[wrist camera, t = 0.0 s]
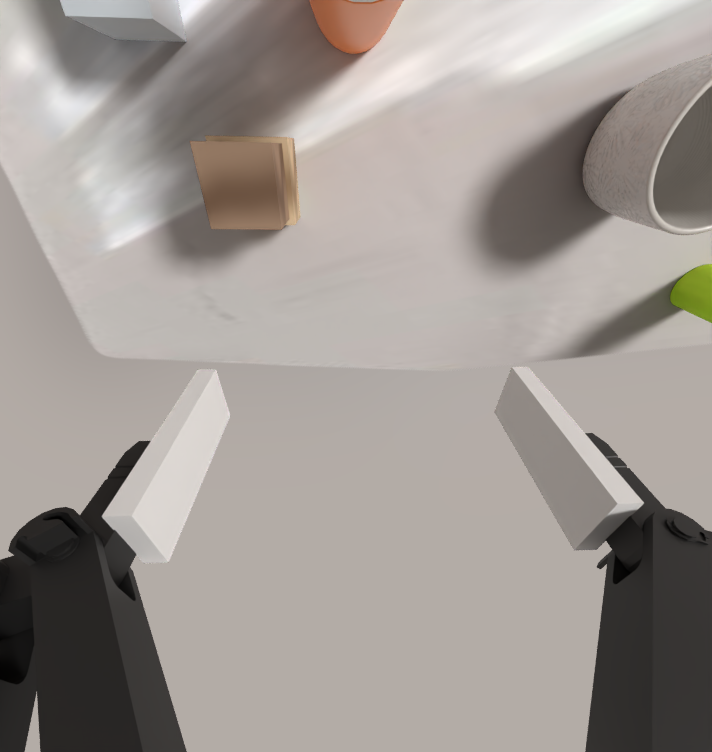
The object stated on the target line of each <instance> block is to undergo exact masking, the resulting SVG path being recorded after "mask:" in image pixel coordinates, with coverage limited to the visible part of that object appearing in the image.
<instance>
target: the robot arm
mask: <svg viewBox="0 0 712 752" xmlns="http://www.w3.org/2000/svg"><path fill="white" fill-rule="evenodd" d="M495 414H496V415H497V417H498V419H499V421H500V422H501V424H502V426H503V428H504V429H505V431H506V433H507V435H508V436H509V438H510V440H511V442H512V443H513V445H514V447H515V449H516V450H517V452H518V454H519V455H520V457H521V459H522V461H523V462H524V464H525V466H526V468H527V469H528V471H529V473H530V474H531V476H532V478H533V480H534V482H535V483H536V485H537V487H538V488H539V490H540V492H541V494H542V495H543V497H544V499H545V501H546V502H547V504H548V505H549V507H550V509H551V511H552V513H553V515H554V516H555V518H556V519H557V521H558V523H559V525H560V527H561V528H562V530H563V532H564V534H565V535H566V537H567V539H568V541H569V542H570V544H571V546H572V547H573V549H574V550H596V549H598V548H599V547H600V546H601V545H602V543H604V542H605V541H607V542H608V544H609V545H610V547H611V548H612V551H611V552H610V553H609V554H608V555H606V556H605V557H604V558H603V559H602V560H601V561H600V562H599V563H598V565H597V568H599V569H601V568H603V567H604V566H605V565H606V564H607V570H606V578H605V588H604V596H603V605H602V613H601V622H600V630H599V640H598V647H597V648H598V649H597V657H596V665H595V673H594V683H593V691H592V700H591V708H590V717H589V725H588V734H587V742H586V751H585V752H712V532H710V531H706V530H704V528H702V527H701V526H700V525H699V524H698V523H697V522H695V521H694V520H693V519H691V518H689V517H688V516H686V515H684V514H682V513H680V512H677V511H674V510H672V509H666V508H665V507H664V506H663V505H662V504H661V503H660V502H659V501H658V500H657V499H656V498H655V497H654V495H653V494H652V493H651V492H650V491H649V490H648V489H647V488H646V486H645V485H644V484H643V483H642V482H641V481H640V480H639V479H638V478H637V476H636V475H635V474H634V473H633V472H632V471H631V470H630V469H629V468H627V465H626V464H625V463H624V462H623V461H622V460H621V459H620V458H618V455H617V454H616V453H615V452H614V451H613V450H612V449H611V448H610V446H609V445H608V444H607V443H605V442H604V441H603V440H601V439H600V438H598V437H597V436H595V435H594V434H593V433H584V432H583V431H582V429H581V428H580V427H579V426H578V425H577V424H576V422H575V421H574V420H573V419H572V418H571V416H570V415H569V414H568V413H567V412H566V411H565V409H564V408H563V407H562V406H561V405H560V404H559V402H558V401H557V400H556V399H555V398H554V396H553V395H552V394H551V393H550V392H549V391H548V389H547V388H546V387H545V386H544V385H543V384H542V382H541V381H540V380H539V379H538V378H537V376H536V375H535V374H534V373H533V372H532V371H531V369H530V368H529V367H512V368H511V370H510V373H509V376H508V378H507V381H506V383H505V386H504V389H503V391H502V394H501V396H500V399H499V401H498V404H497V407H496V409H495ZM229 417H230V413H229V409H228V406H227V403H226V400H225V397H224V394H223V391H222V387H221V384H220V381H219V378H218V374H217V371H216V369H198V370H197V372H196V373H195V375H194V376H193V378H192V379H191V381H190V382H189V384H188V385H187V387H186V388H185V390H184V391H183V393H182V394H181V396H180V398H179V399H178V401H177V402H176V404H175V405H174V407H173V408H172V410H171V411H170V413H169V414H168V416H167V418H166V419H165V420H164V422H163V423H162V425H161V427H160V428H159V430H158V431H157V433H156V434H155V436H154V437H153V439H152V440H151V441H139V442H137V443H136V444H135V445H134V446H132V447H131V448H130V449H129V450H128V451H126V452H125V453H124V455H123V456H122V458H121V459H120V460H119V462H118V463H117V465H116V468H114V469H113V470H112V472H111V473H110V474H109V476H108V479H107V480H105V481H104V483H103V484H102V485H101V487H100V488H99V490H98V491H97V493H96V494H95V495H94V497H93V498H92V500H91V501H90V502H89V504H88V505H87V506H86V508H85V509H84V511H83V512H82V513H81V515H79V514H78V513H77V512H76V511H75V510H74V509H71V508H67V507H63V508H55V509H52V510H50V511H47V512H44V513H42V514H40V515H39V516H37V517H35V518H34V519H32V520H31V521H29V522H28V523H27V524H26V525H25V526H23V527H22V528H21V529H20V530H19V531H18V532H17V534H16V535H15V536H14V538H13V539H12V541H11V543H10V547H9V550H8V551H9V552H11V553H12V554H13V555H14V556H11V557H8V558H5V559H2V560H0V752H24V751H25V746H26V741H27V736H28V731H29V726H30V722H31V717H32V712H33V707H34V701H35V697H36V692H37V696H38V697H37V698H38V715H39V733H40V749H41V750H40V751H41V752H187V751H186V748H185V745H184V741H183V738H182V735H181V731H180V728H179V725H178V721H177V718H176V714H175V711H174V708H173V705H172V701H171V698H170V694H169V691H168V687H167V684H166V681H165V677H164V674H163V671H162V667H161V664H160V661H159V657H158V654H157V650H156V647H155V644H154V640H153V637H152V634H151V630H150V627H149V624H148V621H147V617H146V614H145V611H144V607H143V603H142V600H141V597H140V593H139V590H138V587H137V583H136V580H135V577H134V573H133V571H132V570H131V568H130V566H131V564H132V562H133V560H134V558H135V556H137V557H138V558H139V559H140V560H141V561H142V562H143V563H168V562H169V560H170V558H171V555H172V553H173V550H174V548H175V546H176V543H177V541H178V539H179V536H180V534H181V531H182V529H183V527H184V524H185V522H186V520H187V517H188V515H189V512H190V510H191V507H192V505H193V503H194V500H195V498H196V496H197V493H198V491H199V489H200V486H201V484H202V481H203V479H204V477H205V474H206V472H207V470H208V467H209V465H210V463H211V460H212V458H213V455H214V453H215V451H216V448H217V446H218V443H219V441H220V439H221V436H222V434H223V432H224V429H225V427H226V425H227V422H228V420H229Z"/></svg>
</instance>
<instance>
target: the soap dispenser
mask: <svg viewBox="0 0 712 752" xmlns="http://www.w3.org/2000/svg"><path fill="white" fill-rule="evenodd" d="M670 300H671V303H672V304H673V305H675V306H677V307H679V308H681V309H683V310H685V311H687V312H689V313H692V314H694V315H696V316H698V317H700V318H702V319H704V320H706V321H708V322H711V323H712V264H707V265H702V266H699V267H697V268H695V269H693V270H691V271H689V272H688V273H687V274H685V275H684V276H683V277H682V278H681V279H680V280H679V281H678V282H677V283H676V284H675V286H674V287H673V289H672V291H671V295H670Z"/></svg>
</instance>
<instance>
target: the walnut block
mask: <svg viewBox="0 0 712 752" xmlns="http://www.w3.org/2000/svg"><path fill="white" fill-rule="evenodd" d="M190 144H191V149H192V153H193V157H194V161H195V165H196V169H197V173H198V177H199V181H200V185H201V190H202V194H203V198H204V202H205V206H206V210H207V214H208V218H209V222H210V226H211V229H266V230H282V228H283V227H284V226H285V224H286V223H287V222H288V220H289V219H290V218H289V209H288V199H287V189H286V179H285V169H284V160H283V150H282V143H267V142H215V141H190Z"/></svg>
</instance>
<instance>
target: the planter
mask: <svg viewBox="0 0 712 752" xmlns="http://www.w3.org/2000/svg"><path fill="white" fill-rule="evenodd" d="M583 183H584V187H585V190H586V192H587V194H588V196H589V198H590V199H591V200H592V201H593V202H594V203H595V204H596V205H597V206H598V207H600V208H601V209H603V210H605V211H607V212H609V213H611V214H613V215H615V216H618V217H621V218H624V219H626V220H629V221H633V222H636V223H639V224H642V225H645V226H649V227H652V228H655V229H658V230H662V231H665V232H668V233H671V234H677V235H693V234H699V233H703V232H707V231H710V230H712V54H709V55H706V56H703V57H700V58H697V59H694V60H691V61H688V62H685V63H682V64H679V65H677V66H674V67H672V68H669V69H667V70H665V71H662V72H660V73H658V74H656V75H654V76H652V77H650V78H649V79H647V80H645V81H644V82H642V83H640V84H639V85H638V86H636V87H635V88H633V89H632V90H631V91H629V92H628V93H627V94H626V95H625V96H624V97H622V98H621V99H620V100H619V101H618V102H617V103H616V104H615V105H614V106H613V107H612V109H611V110H610V111H609V112H608V113H607V115H606V116H605V117H604V119H603V120H602V121H601V123H600V124H599V126H598V128H597V129H596V131H595V133H594V135H593V137H592V139H591V141H590V143H589V146H588V148H587V151H586V155H585V159H584V164H583Z"/></svg>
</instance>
